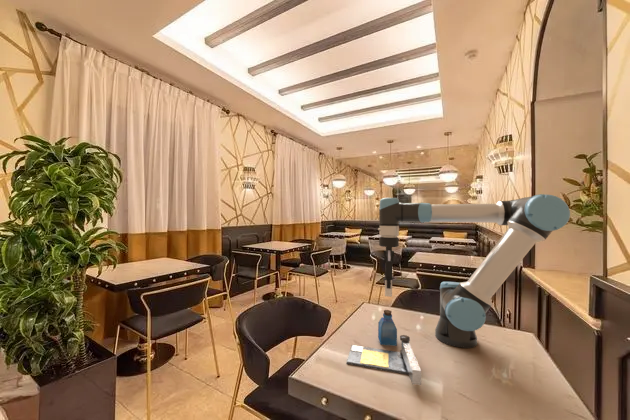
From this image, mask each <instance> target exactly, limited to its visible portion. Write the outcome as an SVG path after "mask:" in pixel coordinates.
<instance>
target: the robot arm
mask: <svg viewBox="0 0 630 420" xmlns="http://www.w3.org/2000/svg"><path fill="white" fill-rule="evenodd" d="M378 209H379V212H378V215H379V217H378V219H379V222H378V223H379V227H378V228H377V230H378V231H379V240H378V245H379V246H380V247H382V248H383V247H384V248H385V250H383V258H384V260H383V261H384V264H385V265H384V267H385V268H384V269H385V273H384V277H383V280H384V296H385V297H390V298H393V280H394V276H393V263H394V256H395V251H394V250H393V248H398V247H399V245H400V243H399V235H400V226H399V223H421V224H422V223H423V224H424V223H488V224H489V223H491V224H492V223H494V224H497V225H498V226H508V228H507V230H505V232H504V233H503V235H501V237H500V238H499V240H498V241H497V243H495V245H494V246H493V247H492V249H491V250H490V251H489V253H488V254H487V255H486V257H485V258H484V259H483V261H482V262H481V263H480V264H479V265H478V267H477V268H476V269H475V271H473V273H472V274H471V276H470V277H469V279H468V280H467V281H463V282H456V281H442V282H441V283H440V284H439V285H440V286H439V290H440V291H439V292H440V293H439V295H440V296H439V319H438V322H437V324H436V327H435V329H434V330H435V332H434V333H435V338H436V339H437V340H439V341H440V342H442V343H444V344H446V345H449V346H453V347H456V348H457V347H458V348H461V349H462V348H463V349H470V348H475V347H476V346H478V336H477V334H476V331H478V330H479V329H480V328H482V327H483V326H484V324H485V322H486V319H487V315H486V314H487V312H488V311H489V310H490V308H492V307H493V303H492V297H493V296H494V295H495V294H496V293H497V292H498V290H499V289H500V288H501V286H502V285H503V284H504V282H505V281H506V280H507V279H508V278H509V276H510V275H511V274H512V273H513V271H514V270H515V269H516V268H517V266H519V264H520V263H521V261H523V259H524V258H525V256H527V254H528V253H529V251H530V250H531V249H532V248H533V247H534V246H535V244H536V243H539V242H540V243H541V242H545V241H546V240H547V238H548V237H549V236H550V235H551V234H552V232H553V231H557V230H559V229H561V228H563V227H565V226H566V225H567V224H568V222H569V221H570V218H571V211H570V208H569V206H568V204H567V202H566V201H564V200H563V199H562V198H561V197H558V195H557V196H556V195H552V194H544V193H543V194H542V193H541V194H535V195H531V196H527V197H522V198H517V199H512V200H498V201H497V202H495V203H451V204H450V203H449V204H448V203H447V204H446V203H443V204H441V203H439V204H433V203H432V204H431V203H429V202H400V200H399V198H398V197H383V198H381V199H380V200H379V208H378Z"/></svg>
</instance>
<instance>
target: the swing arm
mask: <svg viewBox="0 0 630 420" xmlns="http://www.w3.org/2000/svg"><path fill="white" fill-rule="evenodd" d="M399 339H400V341H401V346H400V347H401V349H400V350H401V352H402V355H403V358H404V361H405V364H406V367H407V370H408V373H409V375H408V377H409V379H410V381H411V383H412V385H416V386H417V385H418V386H422V369H421V367H420V365H419V362H418V359H417V358H416V355H415V353H414V350H413V347H412V345H411V343H410V340H411V339H410V336H409V335H405V334H401V335H400V336H399Z"/></svg>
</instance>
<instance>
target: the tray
mask: <svg viewBox="0 0 630 420" xmlns="http://www.w3.org/2000/svg"><path fill="white" fill-rule="evenodd" d="M346 365H351V366H356V367H362V368H368V369H374V370H379V371H384V372H391V373H397V374H403V375H407V376H409V373H408V370H407V367H406V364H405V361H404V358H403V355H402V352H401V349H400V350H399V351H394V350H387V349H380V348H375V347H374V348H373V347H369V346H361V345H354V344H351V345H350V349H349V352H348V356H347V359H346Z"/></svg>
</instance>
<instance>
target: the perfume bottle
mask: <svg viewBox="0 0 630 420" xmlns="http://www.w3.org/2000/svg"><path fill="white" fill-rule="evenodd" d="M377 327H378V330H377V331H378V332H377V333H378V335H377V337H378V342H379V345H381V346H394V347H397V346H398V328H397V327H396V324H395V322H394V320H393V314H392V310H390V309H384V310H383V313H382V317H381V318H380V319H379V321H378V326H377Z"/></svg>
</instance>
